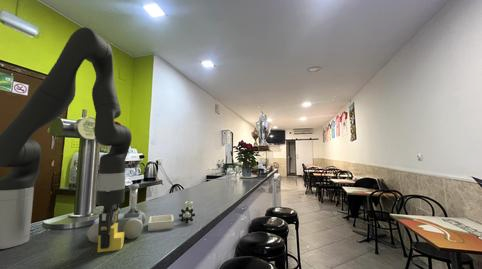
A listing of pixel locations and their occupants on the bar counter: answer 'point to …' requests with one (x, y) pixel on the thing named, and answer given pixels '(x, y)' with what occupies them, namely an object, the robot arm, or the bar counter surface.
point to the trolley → (122, 225)
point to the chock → (113, 239)
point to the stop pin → (133, 198)
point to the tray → (160, 222)
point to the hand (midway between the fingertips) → (108, 243)
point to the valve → (187, 212)
